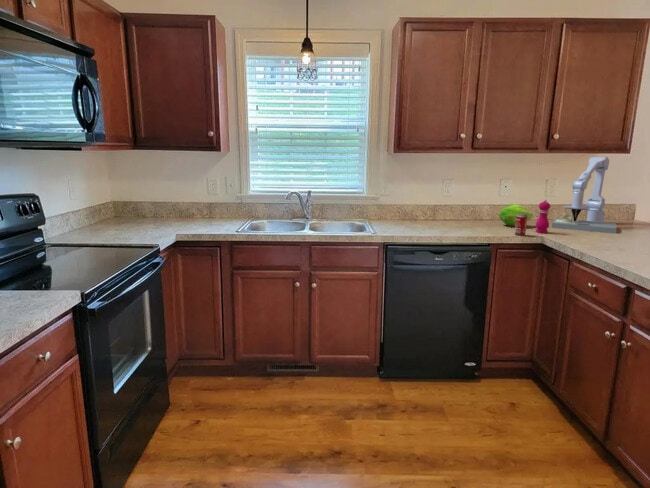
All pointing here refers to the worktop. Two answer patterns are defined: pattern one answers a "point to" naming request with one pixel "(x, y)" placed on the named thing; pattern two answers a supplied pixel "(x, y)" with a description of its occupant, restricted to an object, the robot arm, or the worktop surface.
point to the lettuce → (513, 214)
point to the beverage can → (520, 224)
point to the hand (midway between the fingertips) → (574, 220)
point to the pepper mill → (543, 217)
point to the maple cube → (567, 217)
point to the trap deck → (586, 225)
